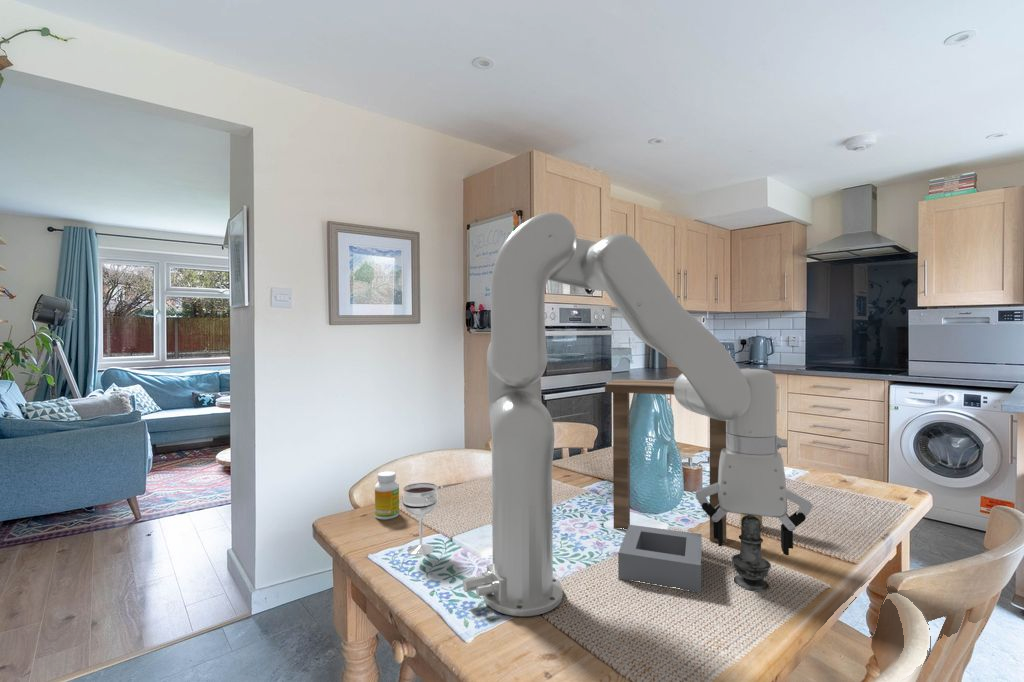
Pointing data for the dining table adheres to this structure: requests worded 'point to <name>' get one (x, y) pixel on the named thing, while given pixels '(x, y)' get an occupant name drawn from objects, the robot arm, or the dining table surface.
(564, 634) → the dining table surface
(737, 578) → the salt shaker
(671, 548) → the socket block
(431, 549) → the wineglass
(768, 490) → the robot arm
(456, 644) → the dining table surface
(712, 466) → the canopy
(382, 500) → the supplement bottle
